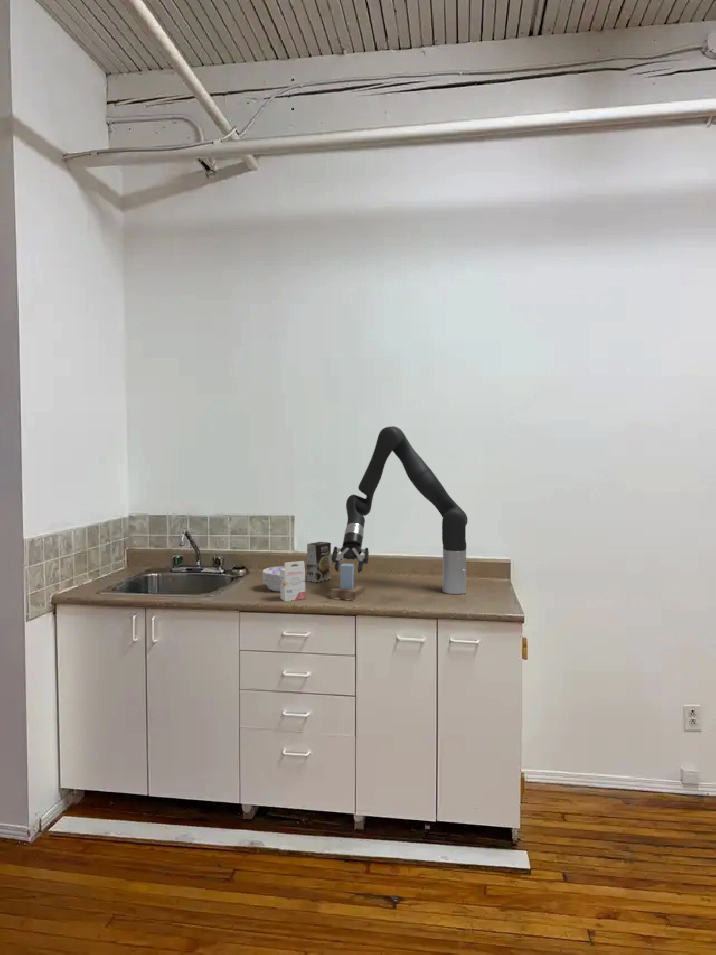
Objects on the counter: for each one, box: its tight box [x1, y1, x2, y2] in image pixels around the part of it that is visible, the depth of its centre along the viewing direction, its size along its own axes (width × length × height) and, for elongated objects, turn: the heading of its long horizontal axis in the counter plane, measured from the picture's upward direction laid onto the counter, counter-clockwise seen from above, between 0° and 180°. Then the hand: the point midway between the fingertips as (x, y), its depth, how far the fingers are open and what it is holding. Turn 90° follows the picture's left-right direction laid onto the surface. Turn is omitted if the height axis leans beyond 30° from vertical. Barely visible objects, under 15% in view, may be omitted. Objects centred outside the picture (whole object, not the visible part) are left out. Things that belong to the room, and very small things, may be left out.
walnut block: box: [330, 584, 366, 601], centre depth 259 cm, size 10×10×4 cm
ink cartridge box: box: [279, 560, 306, 602], centre depth 255 cm, size 9×5×15 cm, turn 117°
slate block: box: [339, 563, 355, 590], centre depth 258 cm, size 5×5×9 cm
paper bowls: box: [261, 565, 285, 592], centre depth 272 cm, size 15×15×8 cm
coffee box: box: [306, 541, 332, 583], centre depth 288 cm, size 9×6×16 cm
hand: (348, 570), depth 258 cm, fingers open, 8 cm apart
